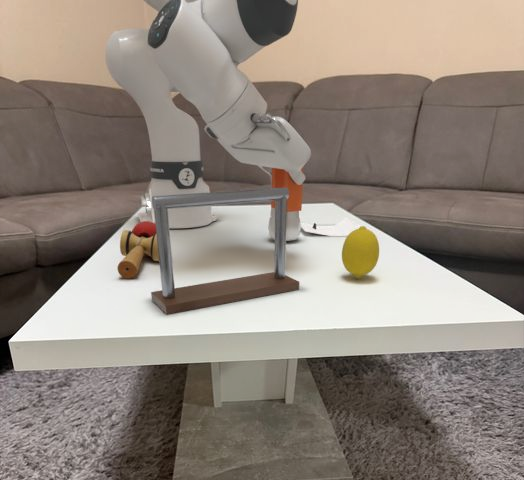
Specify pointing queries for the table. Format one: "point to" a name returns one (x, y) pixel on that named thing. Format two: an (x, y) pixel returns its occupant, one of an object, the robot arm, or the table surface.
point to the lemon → (360, 252)
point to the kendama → (137, 247)
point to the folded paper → (332, 228)
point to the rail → (226, 289)
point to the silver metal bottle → (291, 224)
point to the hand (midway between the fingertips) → (289, 179)
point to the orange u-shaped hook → (295, 191)
